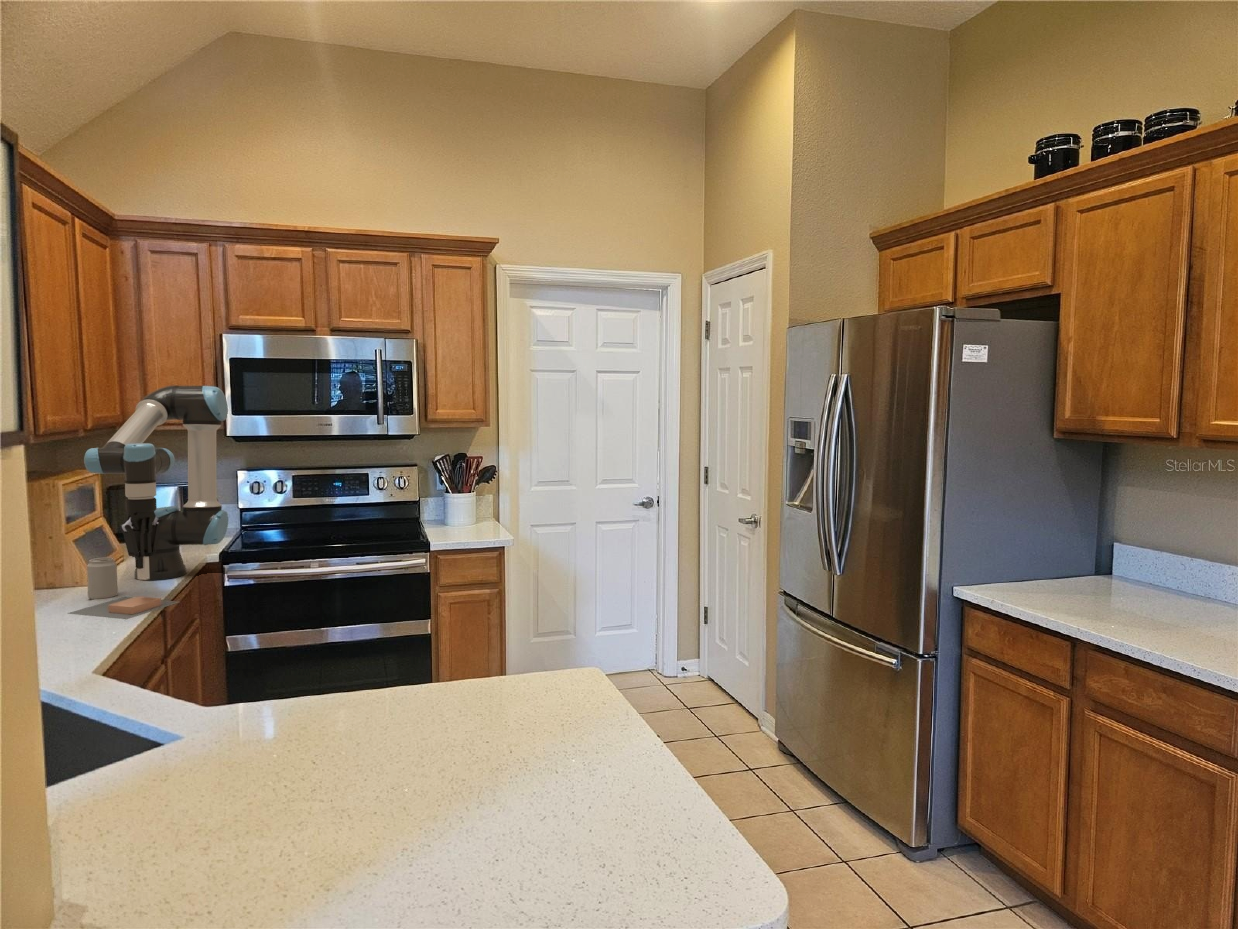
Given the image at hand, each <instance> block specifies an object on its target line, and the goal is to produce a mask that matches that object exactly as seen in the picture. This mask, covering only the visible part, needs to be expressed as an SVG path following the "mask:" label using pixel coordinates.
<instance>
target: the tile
mask: <svg viewBox="0 0 1238 929" xmlns="http://www.w3.org/2000/svg"><path fill="white" fill-rule="evenodd" d="M161 600H162V597H148V596H139V595H138V596H135V597H133V598H131V599H127V600H124V601H120V602H117V603H113V604H110V605H108V612H110V613H121V614H131V615H132V614H136V613H139V612H142V611H145V610H148V609H152V608H155V607H158V606H160V605H161Z"/></svg>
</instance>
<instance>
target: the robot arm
mask: <svg viewBox="0 0 1238 929" xmlns="http://www.w3.org/2000/svg"><path fill="white" fill-rule="evenodd" d="M228 405H229V404H228V402H227V397H226V395H225V393H224V392H223V390H222V389H221V388H219V387H217V386H211V385H173V384H172V385H167V386H164V387H161V388H158V389H156V390H154V391H152V392H150V393H149V394H147V395H145V396H144V397H143V398H142V399H140V401H139V402H138V403H137V404H136V406H135V409H134V410H135V412H133V414H131V416H130V417H129V418H128V419H127V420H126V421H125V422H124V424H122V425H121V426H120V428H118V430H117V431H115V433H114V434H113V435H112V437H111V438H110V439H109V440H107V442H106V443H105V444H104V445H103V446H102V447H98V446H97V447H94V448H93V447H91V448H89V449H87V450H86V452H85V454H84V457H83V463H84V467H85V469H86V471H88V472H89V473H91V474H102V475H107V474H108V475H109V474H110V475H113V474H115V475H117V474H119V475H120V474H121V475H122V474H124V491H125V493H124V494H125V497H126V499H125V501H124V502H125V511H126V512H127V518H126V522H125V523H122V524H119V529H120V531H121V532H122V534H123V539H124V542H125V546H126V550H127V554H128V556H129V557H132V558H134V560H135V570H134V579H136V580H140V581H159V580H160V581H161V580H168V579H175V578H179V577H183V576H184V575H186V574H187V565H186V564H185V563H184V560H183V556H182V554H181V551H180V549H181V547H180V546H198V545H199V546H201V545H202V546H209V545H217V544H220V543H221V542H222V541H223V540H224V539H225V536H226V534H227V532H228V526H229V516H228V515H229V514H228V512H227V511H226V510H225V509H223V508H222V507H223V506H222V504H221V503H220V502H219V501H218V500H217V498H218V497H217V492H218V491H217V490H218V489H217V487H218V486H217V480H218V479H217V431H218V430H219V429H220V428H221V427H222V422H224V421H226V419H227V418H228V414H229V413H228V412H229V406H228ZM173 420H175V421H176V420H177V421H182V426H183V427H184V428H185V429H186V430H187V499H188V500H187V502H186V503H185V504H183V506H182V510H180V508H179V507H178V506H176V505H175V506H174V505H171V506H163V507H158V506H157V498H156V497H155V496H157V481H156V476H157V474H163V473H166V472H169V471H170V470H171V469H172V468H174V465H175V462H176V459H175V455H174V453H173V452H172V451H170V450H169V449H168V448H164V447H155V445H154V444H152V443H150V442H149V443H148V442H146V443H144V442H145V441H146V440H147V439H148V438H149V436H150V435H151V434H152V433H153V432H154V430H155V429H156V428H157V426H162V425H163V424H164V423H165V422H166V421H173Z"/></svg>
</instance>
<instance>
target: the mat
mask: <svg viewBox="0 0 1238 929" xmlns="http://www.w3.org/2000/svg"><path fill="white" fill-rule="evenodd" d="M131 598H134V597H133V596H132V597H131V596H130V597H129V596H124V597H119V598H117V599H112V600H108V601H106V602H102V603H99V604H98V603H97V604H96V605H92V606H89V607H83V608H81V609H76V610H73V611H70V612H67V613H66V614H68V615H78V616H89V617H90V616H91V617H98V618H99V617H100V618H108V619H109V618H110V619H121V620H128V619H131V618H132V619H133V618H135V617H138V616H141V615H144V614H147V613H151V612H154V611H157V610H159V609H160V610H161V609H164V608H167V607H168V606H170V607H171V606H172V605H175V604H178V603H180V601H178V600H177V601H175V600H163V599H161V605H160V606H158V607H155V608H152V609H148V610H145V611H142V612H139V613H136V614H132V615H131V614H121V613H110V612H108V605H110V604H113V603H117V602H120V601H124V600H127V599H131Z"/></svg>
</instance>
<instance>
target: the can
mask: <svg viewBox="0 0 1238 929" xmlns="http://www.w3.org/2000/svg"><path fill="white" fill-rule="evenodd" d="M88 562H89V563H88V564H87V565H86V580H87V597H88V598H89V599H90V600H92V601H94V600H100V599H109V598H113V597H116V596H117V595H118V594H119V590H118V567H117V566H118V564H117V562H116V561H115V558H114V557H110V556H109V557H107V556H106V557H96V558H91V559H89V560H88Z"/></svg>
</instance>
